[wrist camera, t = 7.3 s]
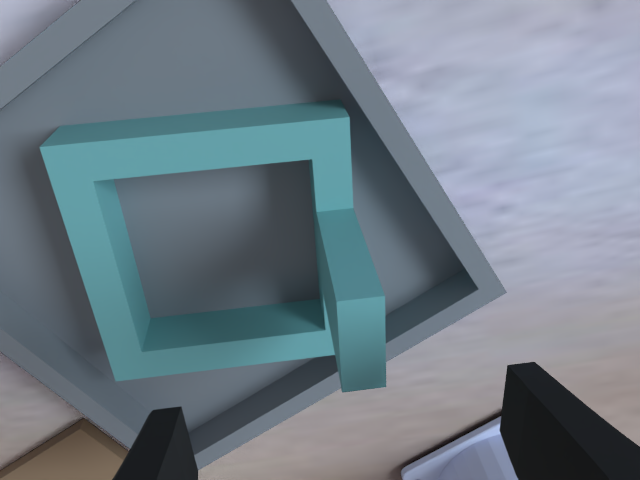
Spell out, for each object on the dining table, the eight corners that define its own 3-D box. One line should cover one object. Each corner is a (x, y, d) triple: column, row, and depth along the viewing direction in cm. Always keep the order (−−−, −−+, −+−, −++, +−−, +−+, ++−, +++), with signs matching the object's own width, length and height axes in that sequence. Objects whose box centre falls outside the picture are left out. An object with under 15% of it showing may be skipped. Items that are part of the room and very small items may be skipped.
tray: (487, 264, 23) (506, 292, 21) (180, 445, 26) (175, 483, 24) (244, -128, 16) (243, -135, 14) (-141, 189, 19) (-181, 216, 17)
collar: (126, 346, 22) (78, 503, 16) (59, 125, 18) (-40, 227, 12) (351, 319, 23) (387, 462, 17) (340, 99, 18) (383, 183, 12)
